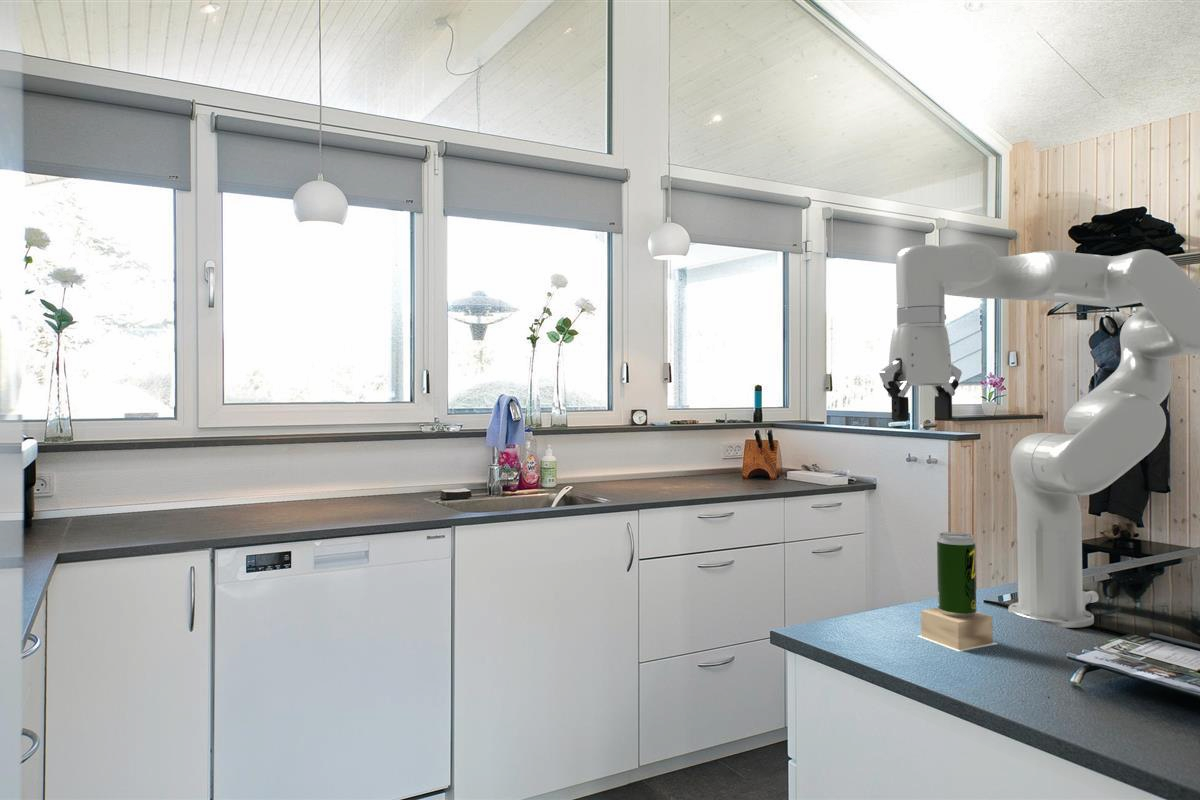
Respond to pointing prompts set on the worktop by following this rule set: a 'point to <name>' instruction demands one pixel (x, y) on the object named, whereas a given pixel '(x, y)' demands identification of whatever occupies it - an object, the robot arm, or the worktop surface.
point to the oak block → (957, 629)
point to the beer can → (956, 574)
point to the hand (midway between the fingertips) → (922, 419)
